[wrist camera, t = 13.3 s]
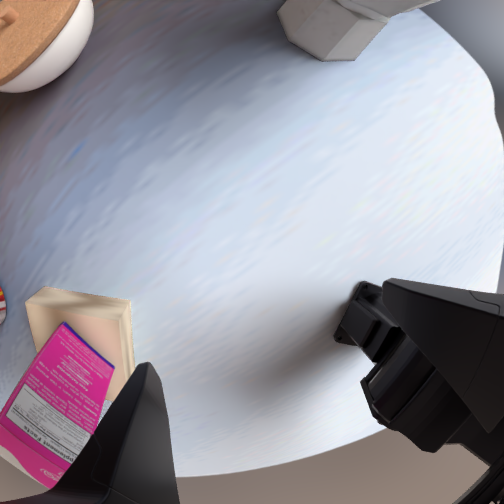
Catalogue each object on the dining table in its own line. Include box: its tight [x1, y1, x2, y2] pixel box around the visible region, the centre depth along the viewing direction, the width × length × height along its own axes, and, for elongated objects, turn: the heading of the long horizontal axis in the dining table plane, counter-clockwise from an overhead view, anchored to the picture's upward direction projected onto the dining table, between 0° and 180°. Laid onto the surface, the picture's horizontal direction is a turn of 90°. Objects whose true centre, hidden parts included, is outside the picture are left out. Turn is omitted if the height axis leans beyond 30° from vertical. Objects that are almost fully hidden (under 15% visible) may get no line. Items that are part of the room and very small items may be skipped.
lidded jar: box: [0, 0, 94, 93], centre depth 9 cm, size 11×11×9 cm
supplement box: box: [0, 321, 115, 489], centre depth 12 cm, size 6×6×12 cm
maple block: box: [25, 286, 135, 401], centre depth 20 cm, size 9×9×4 cm
